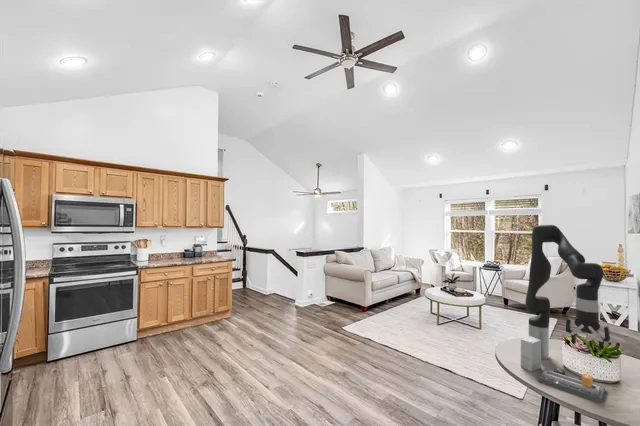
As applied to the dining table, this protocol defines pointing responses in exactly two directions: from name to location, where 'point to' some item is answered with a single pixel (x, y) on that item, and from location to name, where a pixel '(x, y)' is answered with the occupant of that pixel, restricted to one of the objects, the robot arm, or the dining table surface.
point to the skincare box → (531, 353)
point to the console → (571, 384)
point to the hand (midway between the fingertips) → (587, 346)
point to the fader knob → (587, 380)
